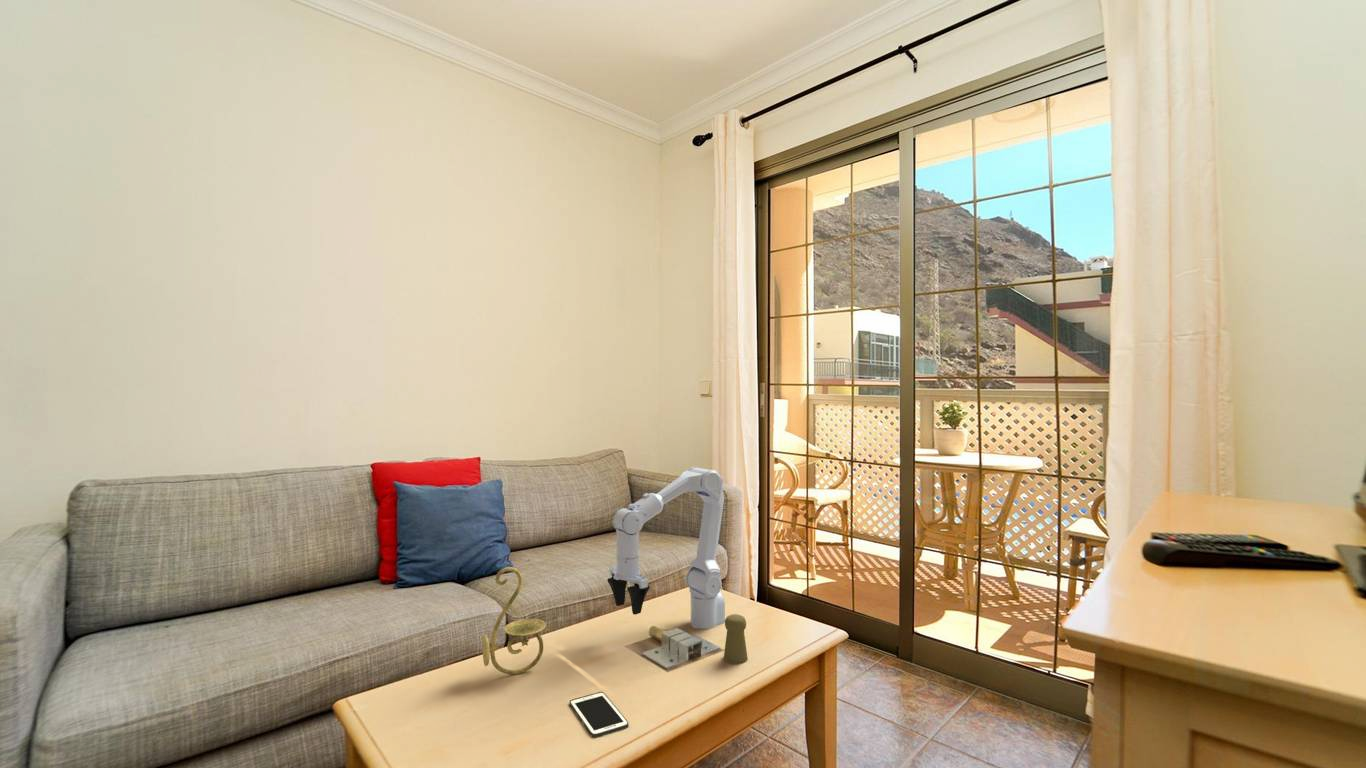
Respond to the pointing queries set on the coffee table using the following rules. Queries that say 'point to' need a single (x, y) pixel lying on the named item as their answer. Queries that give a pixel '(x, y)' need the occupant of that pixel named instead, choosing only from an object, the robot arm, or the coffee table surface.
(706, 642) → the hinge leaves
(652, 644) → the board
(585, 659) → the coffee table surface
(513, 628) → the wall sconce
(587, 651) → the coffee table surface
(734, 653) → the olive green pawn
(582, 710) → the cell phone
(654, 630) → the pin
